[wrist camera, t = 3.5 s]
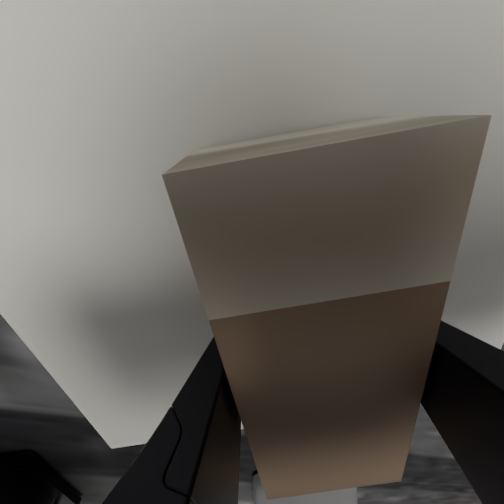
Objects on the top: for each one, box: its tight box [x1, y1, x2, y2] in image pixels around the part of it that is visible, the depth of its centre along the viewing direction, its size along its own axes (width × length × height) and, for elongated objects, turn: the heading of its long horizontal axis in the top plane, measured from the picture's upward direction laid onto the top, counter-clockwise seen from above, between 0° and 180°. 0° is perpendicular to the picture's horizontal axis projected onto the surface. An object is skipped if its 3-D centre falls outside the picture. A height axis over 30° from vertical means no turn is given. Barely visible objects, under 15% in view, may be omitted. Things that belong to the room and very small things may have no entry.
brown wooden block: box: [162, 115, 492, 500], centre depth 8 cm, size 12×5×4 cm, turn 9°
